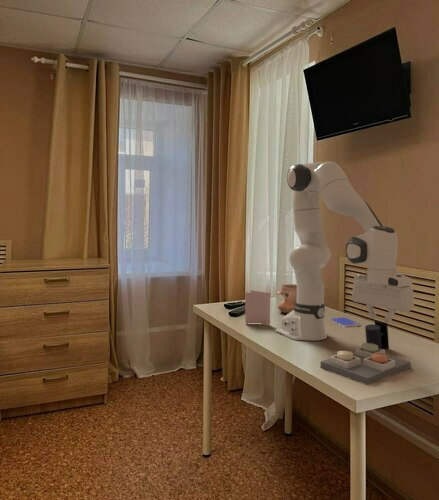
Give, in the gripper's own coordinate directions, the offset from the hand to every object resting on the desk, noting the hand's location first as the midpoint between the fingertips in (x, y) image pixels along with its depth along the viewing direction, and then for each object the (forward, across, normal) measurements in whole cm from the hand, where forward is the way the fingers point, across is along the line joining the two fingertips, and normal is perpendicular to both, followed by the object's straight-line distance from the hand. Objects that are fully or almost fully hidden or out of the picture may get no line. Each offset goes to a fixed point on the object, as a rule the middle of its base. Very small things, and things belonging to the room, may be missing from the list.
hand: (380, 320), depth 136 cm
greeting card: (+17, -69, +8) cm, 72 cm away
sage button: (+14, -8, +7) cm, 17 cm away
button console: (+17, -5, 0) cm, 18 cm away
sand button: (+14, -8, -7) cm, 17 cm away
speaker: (+17, -15, +21) cm, 31 cm away
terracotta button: (+14, 0, 0) cm, 14 cm away
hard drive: (+18, -46, +43) cm, 65 cm away
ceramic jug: (+17, -75, +39) cm, 86 cm away
